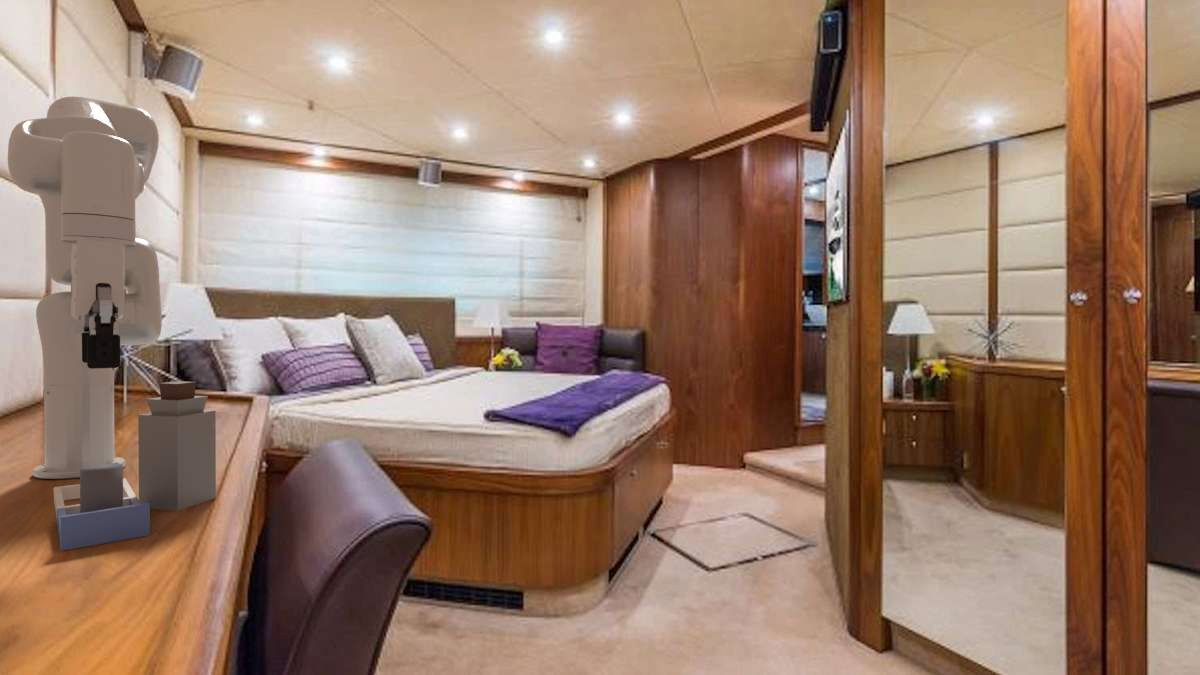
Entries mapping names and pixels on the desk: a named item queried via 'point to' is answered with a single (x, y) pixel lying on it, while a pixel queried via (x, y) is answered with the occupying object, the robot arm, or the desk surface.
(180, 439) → the perfume bottle
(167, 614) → the desk surface
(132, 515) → the blue-fronted open tray
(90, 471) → the grey two-tone upright block
